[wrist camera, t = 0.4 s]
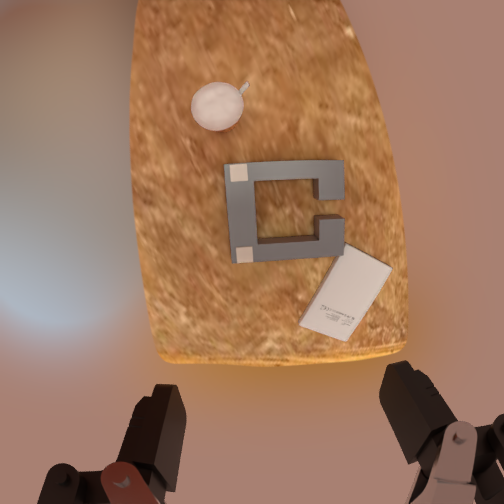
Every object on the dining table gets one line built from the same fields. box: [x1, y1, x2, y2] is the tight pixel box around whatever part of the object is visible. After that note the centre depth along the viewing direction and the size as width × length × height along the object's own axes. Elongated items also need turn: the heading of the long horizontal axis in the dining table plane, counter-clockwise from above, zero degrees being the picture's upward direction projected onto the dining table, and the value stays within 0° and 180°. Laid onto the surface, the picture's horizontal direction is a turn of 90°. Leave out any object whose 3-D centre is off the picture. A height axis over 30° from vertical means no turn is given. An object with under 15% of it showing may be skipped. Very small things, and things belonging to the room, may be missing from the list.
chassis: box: [224, 160, 345, 263], centre depth 32 cm, size 11×13×3 cm
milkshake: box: [191, 81, 250, 133], centre depth 25 cm, size 4×5×10 cm
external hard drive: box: [298, 242, 393, 341], centre depth 36 cm, size 2×8×12 cm
